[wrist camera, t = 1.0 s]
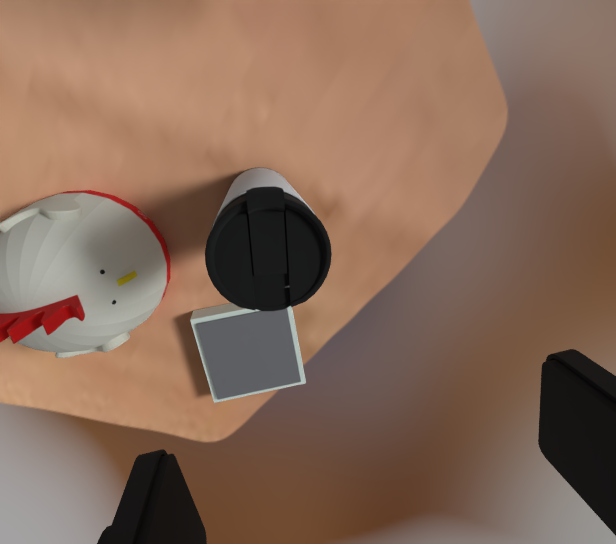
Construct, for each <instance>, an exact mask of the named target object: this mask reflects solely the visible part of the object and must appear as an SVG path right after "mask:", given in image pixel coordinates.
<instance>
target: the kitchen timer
mask: <svg viewBox="0 0 616 544" xmlns="http://www.w3.org/2000/svg"><path fill="white" fill-rule="evenodd" d="M0 231H1V233H0V342H2V341H3V340H5V339H6V338H8V337H9V338H11V340H12V341H13V343H16V342H17V343H19V344H22V345H25V346H27V347H30V348H33V349H35V350H42V351H49V352H56V355H55V356H56V357H57V358H67V357H72V356H77V355H81V354H86V353H91V352H98V351H102V352H108V351H110V350H113V349H115V348H116V347H118V346H120V345H121V344H123V343H124V342H126V341H127V340H128V339H129V338H130V335H129V332H130V331H132V330H133V329H135V328H136V327H137V326H139V325H140V324H142V323H143V322H144V321H146V320H147V319H148V318H149V316H150V315H151V314H152V313H153V311H154V310H155V309H156V307H157V306H158V305H159V303H160V302H161V300H162V298H163V297H164V295H165V292H166V289H167V286H168V283H169V280H170V257H169V254H168V250H167V247H166V244H165V241H164V239H163V237H162V236H161V234H160V233H159V231H158V230H157V228H156V227H155V225H154V224H153V222H152V221H151V220H150V219H149V218H148V217H146V216H145V215H144V214H143V213H142V212H141V211H140V210H139V209H137V208H136V207H135V206H133V205H131V204H129V203H127V202H125V201H123V200H122V199H120V198H118V197H116V196H113V195H109V194H104V193H100V192H96V191H91V190H88V191H67V192H63V193H59V194H56V195H54V196H51V197H48V198H45V199H42V200H39V201H36V202H34V203H32V204H31V205H30V206H28V207H26V208H24V209H22V210H20V211H18V212H17V213H15V214H13V215H12V216H10V217H9V218H7V219H6V220H4V221H2V222H1V223H0Z"/></svg>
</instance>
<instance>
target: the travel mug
mask: <svg viewBox="0 0 616 544" xmlns="http://www.w3.org/2000/svg"><path fill="white" fill-rule="evenodd" d="M205 262H206V267H207V271H208V275H209V277H210V279H211V281H212V283H213V285H214V286H215V287H216V289H217V290H218V291H219V292H220V294H221V295H222V296H224V297H225V298H226V299H227V300H228V301H229V302H231V303H233V304H235V305H236V306H238V307H240V308H245V309H250V310H255V311H256V309H257V310H260V311H278V310H283V309H286V308H288V307H289V306H291V307H293V306H296V305H298V304H300V303H303V302H305V301H307V300H308V299H309V298H310V297H311V296H313V295H314V294H315V293H316V292H317V290H318V289H319V288H320V287H321V286H322V284H323V282H324V280H325V278H326V277H327V274H328V271H329V268H330V263H331V244H330V240H329V237H328V234H327V231H326V230H325V228H324V226H323V224H322V223H321V221H320V220H319V219H318V218H317V217H316V215H315V213H314V212H313V210H312V209H311V208H310V207H309V206H308V205H307V203H306V202H305V201H304V200H303V199H302V198H301V197H300V195H299V194H298V193H297V192H296V191H295V190H294V189H293V187H292V186H291V185H290V184H289V183H288V182H287V181H286V179H285V178H284V177H283V176H282V175H280V174H279V173H278V172H276V171H274V170H271V169H268V168H259V167H258V168H252V169H249V170H246V171H244V172H243V173H241V174H240V175H239V176H238V177H237V178H236V179H235V180H234V181H233V183H232V184H231V187H230V189H229V191H228V193H227V195H226V197H225V199H224V201H223V204H222V206H221V208H220V210H219V212H218V214H217V216H216V219H215V221H214V223H213V226H212V229H211V232H210V235H209V237H208V240H207V244H206V250H205Z"/></svg>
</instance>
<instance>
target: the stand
mask: <svg viewBox="0 0 616 544" xmlns="http://www.w3.org/2000/svg"><path fill="white" fill-rule="evenodd" d="M190 321H191V325H192V328H193V332H194V335H195V338H196V342H197V345H198V349H199V352H200V356H201V359H202V363H203V366H204V370H205V373H206V376H207V380H208V383H209V387H210V390H211V394H212V397H213V401H214V403H216V402H221V401H225V400H230V399H234V398H239V397H244V396H248V395H253V394H258V393H262V392H267V391H271V390H276V389H281V388H285V387H290V386H295V385H299V384H304V383H306V380H305V375H304V370H303V364H302V359H301V353H300V348H299V343H298V337H297V332H296V326H295V321H294V316H293V310H292V307H291V306H289V307H288V308H286V309H283V310H278V311H260V310H257V309H256V311H255V310H250V309H245V308H240V307H238V306H236V305H235V304H233V303H229V304H224V305H219V306H214V307H209V308H204V309H198V310H193V313H192V316H191V319H190Z"/></svg>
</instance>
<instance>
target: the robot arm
mask: <svg viewBox="0 0 616 544" xmlns="http://www.w3.org/2000/svg"><path fill="white" fill-rule="evenodd" d="M538 442H539V447H540V449H541V452H542V453H543V455H544V456H545V458H546V459H547V460H548V461H549V462H550V463H551V464H552V465H553V466H554V468H555V469H556V470H557V471H558V472H559V473H560V474H561V475H562V477H563V478H564V479H565V480H566V481H567V482H568V483H569V484H570V485H571V486H572V487H573V489H574V490H575V491H576V492H577V493H578V494H579V495H580V496H581V498H582V499H583V500H584V501H585V502H586V503H587V504H588V505H589V506H590V508H591V509H592V510H593V511H594V512H595V513H596V514H597V515H598V516H599V517H600V518H601V520H602V521H603V522H604V523H605V524H606V525H607V526H608V528H609V529H610V530H611V531H612V532H613V533H614V534H615V535H616V376H614V375H613V374H612V373H610V372H608V371H607V370H605V369H604V368H603V367H601V366H600V365H598V364H596V363H595V362H593V361H592V360H591V359H589V358H588V357H586V356H585V355H583V354H582V353H580V352H579V351H576V350H573V349H570V350H566V351H562V352H558V353H554V354H550V355H548V357H547V359H546V362H544V363H543V364H542V375H541V396H540V418H539V440H538ZM97 544H207V543H206V532H205V528H204V526H203V523H202V521H201V518H200V516H199V513H198V511H197V509H196V506H195V504H194V501H193V499H192V496H191V494H190V491H189V489H188V487H187V484H186V482H185V479H184V477H183V475H182V472H181V469H180V467H179V465H178V463H177V460H176V457H175V456H174V454H169V455H168V454H167V453H166V451H165V450H158V451H154V452H150V453H146V454H142V455H139V456H138V457H137V458H136V460H135V462H134V465H133V468H132V470H131V473H130V476H129V479H128V481H127V484H126V487H125V490H124V493H123V495H122V498H121V501H120V504H119V506H118V509H117V512H116V515H115V517H114V520H113V523H112V525H111V526H108V527H107V528H106V529H105V530H104V531H103V532H102V534H101V537H100V539H99V540H98V543H97Z"/></svg>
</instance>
